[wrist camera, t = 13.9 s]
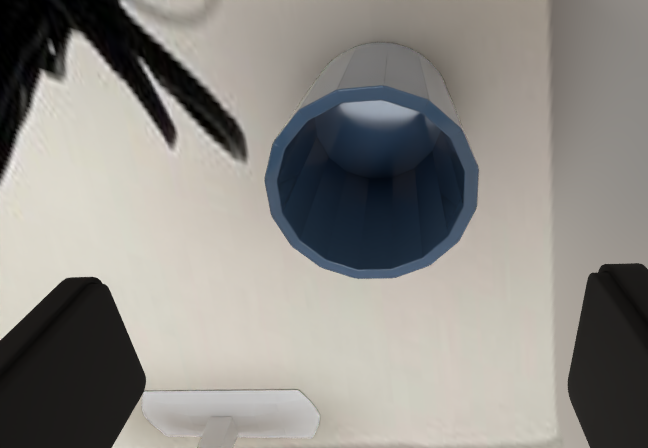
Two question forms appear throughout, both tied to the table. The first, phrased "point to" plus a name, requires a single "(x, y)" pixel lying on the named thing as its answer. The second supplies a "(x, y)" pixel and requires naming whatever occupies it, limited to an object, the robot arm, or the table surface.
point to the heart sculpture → (231, 415)
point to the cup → (373, 166)
